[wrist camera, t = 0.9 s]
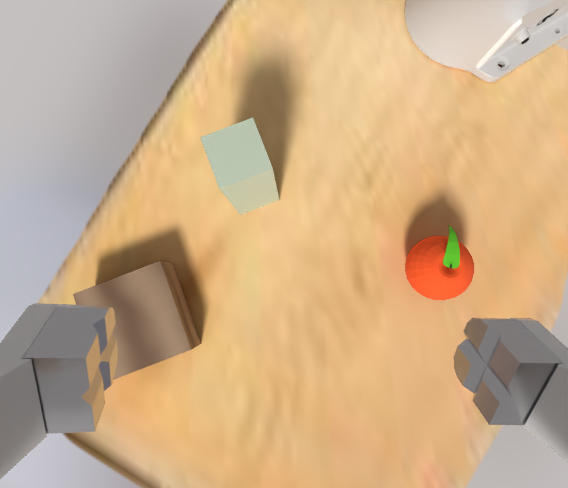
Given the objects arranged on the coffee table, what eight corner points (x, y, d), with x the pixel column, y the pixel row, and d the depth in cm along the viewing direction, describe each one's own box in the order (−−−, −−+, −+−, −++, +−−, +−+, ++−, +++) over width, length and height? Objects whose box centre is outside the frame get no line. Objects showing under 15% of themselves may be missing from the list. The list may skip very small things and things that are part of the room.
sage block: (264, 162, 49) (252, 117, 36) (279, 200, 48) (272, 168, 35) (226, 177, 48) (200, 137, 36) (240, 215, 48) (219, 188, 35)
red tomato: (404, 226, 47) (422, 215, 40) (463, 235, 47) (493, 227, 40) (394, 293, 46) (411, 294, 39) (454, 303, 46) (482, 307, 39)
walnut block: (173, 263, 48) (160, 260, 43) (201, 343, 46) (191, 349, 42) (94, 293, 48) (73, 294, 43) (120, 374, 46) (101, 384, 42)
